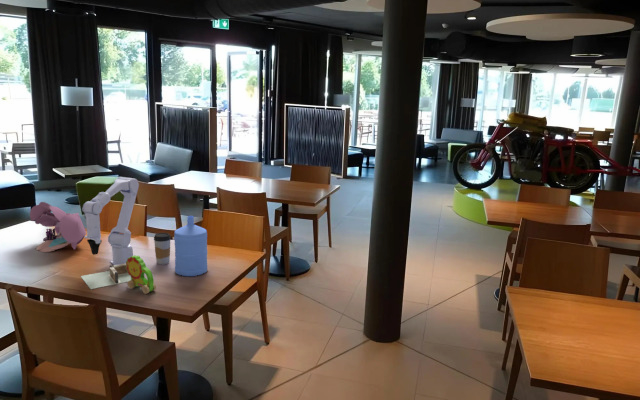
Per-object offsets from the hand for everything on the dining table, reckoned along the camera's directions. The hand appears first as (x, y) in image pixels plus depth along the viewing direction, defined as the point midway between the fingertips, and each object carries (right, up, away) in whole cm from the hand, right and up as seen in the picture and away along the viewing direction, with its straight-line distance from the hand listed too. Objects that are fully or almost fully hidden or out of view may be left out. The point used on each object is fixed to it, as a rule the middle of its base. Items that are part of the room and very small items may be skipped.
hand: (95, 254), depth 231 cm
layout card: (+9, -11, -2) cm, 14 cm away
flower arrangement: (-38, 0, +37) cm, 53 cm away
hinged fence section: (+11, -11, -5) cm, 17 cm away
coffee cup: (+26, -7, +20) cm, 34 cm away
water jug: (+43, -10, +10) cm, 45 cm away
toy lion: (+26, -14, -13) cm, 33 cm away
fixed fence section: (+12, -10, +3) cm, 16 cm away
